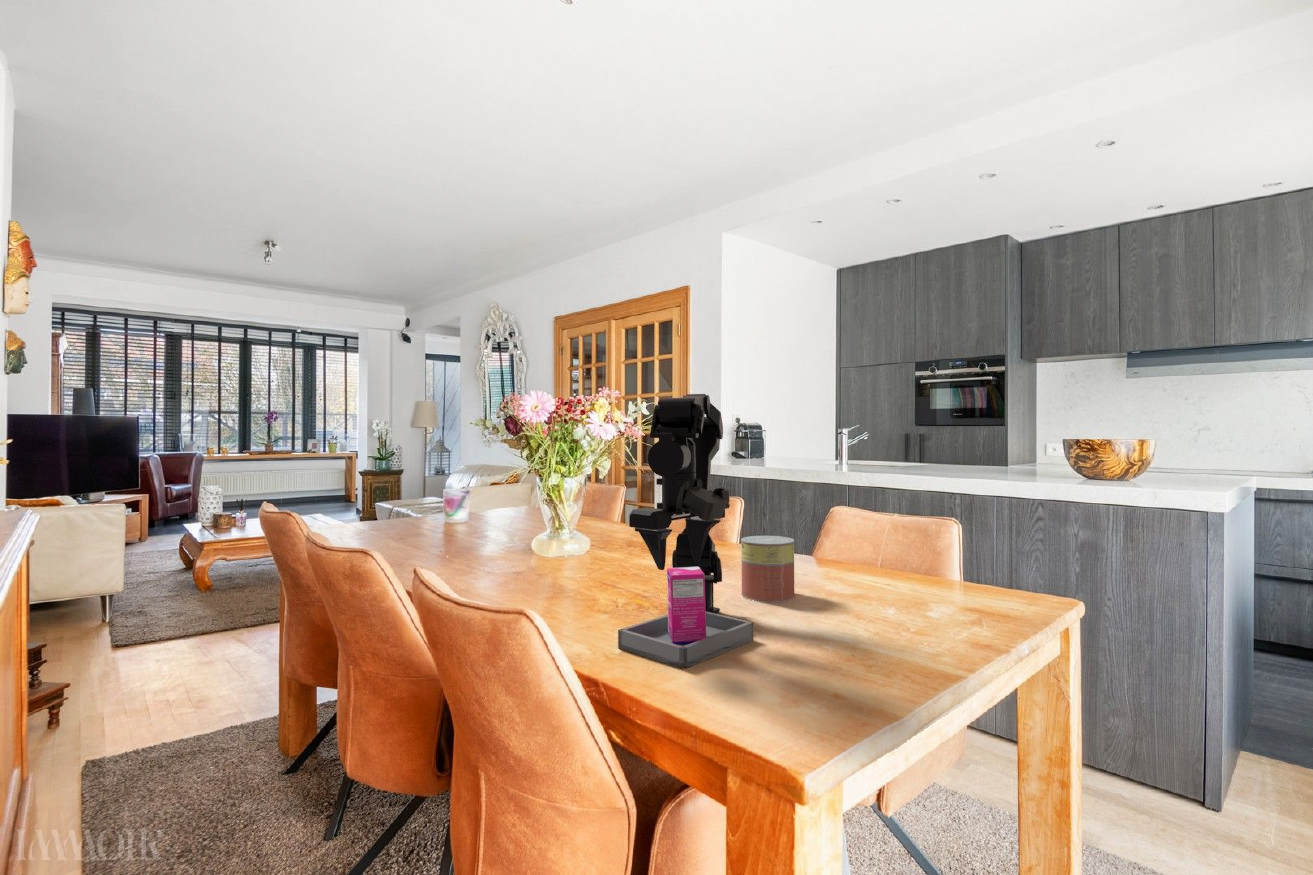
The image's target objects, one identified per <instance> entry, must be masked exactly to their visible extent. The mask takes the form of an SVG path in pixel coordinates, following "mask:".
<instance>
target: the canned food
mask: <svg viewBox="0 0 1313 875" xmlns="http://www.w3.org/2000/svg"><path fill="white" fill-rule="evenodd" d="M740 541H741V543H740V544H741V548H740V549H741V550H740V551H741V554H740V555H741V593H740V595H742V596H743V597H742V596H741V597H742V598H743V599H746V600H748V599H751V600H750V601H752V600H754V602H758V601H759V602H758V603H783V602H788V601H792V600H794V599H795V597H796V596H795V595H796V594H795V539H794V538H792V537H788V536H782V535H765V534H764V535H760V534H759V535H750V536H744V537H742V538H741V539H740Z"/></svg>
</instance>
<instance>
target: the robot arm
mask: <svg viewBox="0 0 1313 875" xmlns="http://www.w3.org/2000/svg"><path fill="white" fill-rule="evenodd" d="M710 399H711V398H710V395H708V394H706V393H689V394H688V393H687V394H686V395H683V396H682V397H662V398H660V399H659V400H658V401H657V404H655V406H654V409H653V415H652V420H651V425H650V433H649V438H650V439H658V441H657V442H654V444H652V446H651V447H650V449H649V451H648V454H647V464H648V466H649V468H650V470H651V471H652V472H653V473H654V474H656V475H657V476H660V477H659V478H656V485H658V486H661V501H659V502H657V503H656V508H654V507H642V508H635V509H632V511H631V512H630V513H629V514H628V517H629V518H628V520H629V524H628V525H629V526H628V527H630V528H633V529H634V531H635V533H636V532H638V533H639V535H640V537H641V538H642V540H643V542H644V543H645V545H646V546H647V549H648V551H649V552H650V555H651V556H652V559H653V561H654V563H655V565H656V568H657V569H658V570H660V571H664V570H665V566H666V559H667V558H666V556H667V539H668V537H669V536H670V535H671V533H672V532H673V529H671V528H670V526H671V524H672V523H673V521H678V520H683V519H684V521H685V527H684V529H683V530H682V532H681V533H678V535H677V537H676V544H675V549H673V551H672V558H671V561H672V562H671V564H672V565H671V566H672V568H684V567H699V568H700V569H701V570H702V572H703V573H704V575H705V608H706V612H711V613H715V614H716V613H718V612H720V610H721V609H720V608H719V607H715V606H714V584H716V585H717V584H718V583H721V582H723V569H722V561H721V558H720V557H719V554H718V551H716V544H715V543H714V540H713V539H712V537H711V535H710V531H711V530H712V529H713V528H714V527H715V526H716V525H717V524H719V523H721V521H722V520H721V519H723V518H726V510H727V509H730V501H731V500H730V491H729V490H728V489H727V488H724V487H716V488H715V489H713V490H712V489H711V471H712V467H711V466H712V460H713V459H714V458H715V456H716V455H717V453H718V452H719V450H720V446H721V445H720V442H721V440H723V437H724V424H723V418H722V412H721V411H720V410H719V409H718V408H717V407H715V406H714V405H713V403H711V400H710Z"/></svg>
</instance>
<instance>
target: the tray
mask: <svg viewBox="0 0 1313 875" xmlns="http://www.w3.org/2000/svg"><path fill="white" fill-rule="evenodd" d="M754 630H755V629H754V622H753V621H748V620H744V619H741V618H735V617H732V616H728V615H724V614H718V613H716V612H715V613H711V612H706V638H704V639H701V640H699V641H696V642H693V643H691V644H686V645H676V644H673V643H672V641H671V638H670V636H669V634H668V614H665V615H662V616H659V617H655V618H652V619H649V620H646V621H642V622H639V623H635V624H632V625H630V626H626V627H623V628H619V629H617V640H618V641H617V646H618V649H619V650H623V651H625V652H629V653H632V654H634V655H639V656H641V657H645V658H647V659H651V660H653V661H657V662H660V663H662V664H667V665H669V666H673V667H676V668H679V669H682V670H685V669H687V668H691V667H692V666H695V665H697V664H700V663H702V662H704V661H706V660H709V659H711V658H714V657H716V656H718V655H721V654H724V653H726V652H729V651H730V650H733V649H736V648H739V647H741V646H743V645H745V644H748V643H750V642H752V641H754V640H755V638H754Z"/></svg>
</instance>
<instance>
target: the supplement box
mask: <svg viewBox="0 0 1313 875" xmlns="http://www.w3.org/2000/svg"><path fill="white" fill-rule="evenodd" d="M666 590H667V592H666V593H667V596H666V597H667V615H668V634H669V636H670V638H671V641H672V643H673V644H676V645H686V644H691V643H693V642H696V641H699V640H701V639H704V638H706V608H705V575H704V573H703V572H702V570H701V569H700V568H699V567H684V568H673V567H668V568H666Z"/></svg>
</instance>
